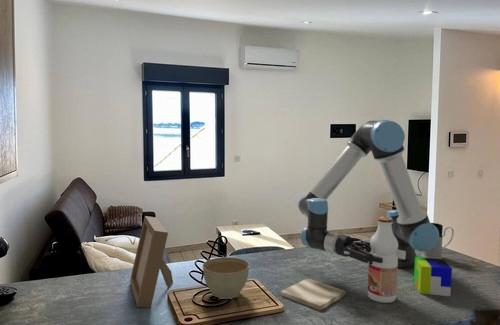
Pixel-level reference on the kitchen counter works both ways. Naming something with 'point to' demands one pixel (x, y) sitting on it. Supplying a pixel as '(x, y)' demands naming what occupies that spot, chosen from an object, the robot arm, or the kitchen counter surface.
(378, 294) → the fruit juice
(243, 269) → the planter bowl
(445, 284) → the puzzle toy
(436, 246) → the grey pitcher
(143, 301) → the photo frame
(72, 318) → the kitchen counter surface
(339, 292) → the birch board
